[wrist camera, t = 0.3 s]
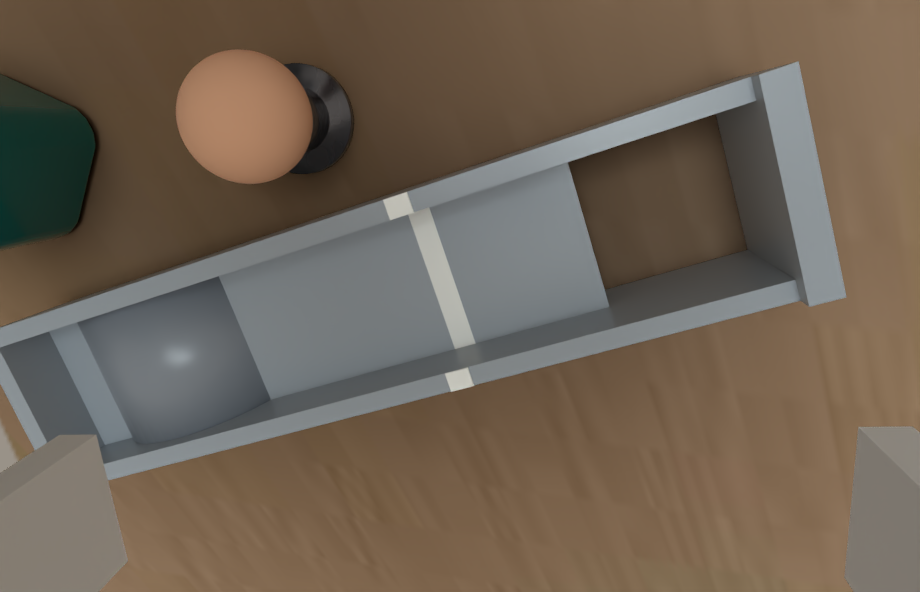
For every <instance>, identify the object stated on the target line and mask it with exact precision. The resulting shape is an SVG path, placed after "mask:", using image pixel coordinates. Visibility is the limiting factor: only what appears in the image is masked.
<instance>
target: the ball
mask: <svg viewBox="0 0 920 592" xmlns="http://www.w3.org/2000/svg"><path fill="white" fill-rule="evenodd" d="M176 119H177V125H178V129H179V132H180V135H181V138H182V140H183V142H184V144H185V146H186V147H187V149H188V151H189V152H190V153H191V154H192V156H193V157H194V158H195V159H196V160H197V161H198V162H199V163H200V164H201V165H202V166H203V167H204V168H206V169H207V170H208V171H210V172H212V173H213V174H215V175H217V176H218V177H221V178H223V179H225V180H229V181H232V182H236V183H242V184H258V183H265V182H268V181H272V180H274V179H277V178H279V177H281V176H283V175H284V174H286V173H288V172H289V171H290V170H291V169H292V168H294V167H295V166H296V165H297V164H298V162H299V161H300V160H301V159H302V157H303V156H304V154H305V152H306V150H307V148H308V145H309V142H310V139H311V135H312V128H313V116H312V110H311V105H310V102H309V99H308V97H307V94H306V92H305V90H304V88H303V86H302V85H301V83H300V82H299V80H298V79H297V78H296V76H295V75H294V74H293V73H292V72H291V71H290V70H289V69H288V68H286V67H285V66H284V65H283V64H281V63H280V62H278V61H277V60H275V59H274V58H271V57H269V56H267V55H265V54H262V53H259V52H256V51H250V50H242V49H233V50H227V51H221V52H218V53H215V54H213V55H211V56H209V57H207V58H205V59H203V60H202V61H201V62H199V63H198V64H197V65H195V66H194V67H193V68H192V69H191V71H190V72H189V73H188V75H187V76H186V77H185V79H184V81H183V83H182V85H181V87H180V90H179V93H178V97H177V102H176Z"/></svg>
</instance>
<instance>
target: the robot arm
mask: <svg viewBox="0 0 920 592" xmlns="http://www.w3.org/2000/svg"><path fill="white" fill-rule="evenodd" d="M127 561H128V559H127V555H126V551H125V547H124V543H123V539H122V535H121V531H120V527H119V523H118V519H117V515H116V511H115V507H114V503H113V499H112V495H111V491H110V487H109V483H108V479H107V475H106V471H105V468H104V464H103V460H102V456H101V452H100V448H99V444H98V440H97V436H96V435H58V436H57V437H55V438H54V439H52V440H51V441H49V442H48V443H46V444H44V445H43V446H41V447H40V448H38V449H37V450H35V451H34V452H32V453H30V454H29V455H27V456H26V457H24V458H23V459H21V460H20V461H18V462H16V463H15V464H14V465H12V466H10V467H9V468H7V469H6V470H4V471H3V472H1V473H0V592H99V591H100V590H101V589H102V588H103V587H104V586H105V585H106V584H107V582H108V581H109V580H110V579H111V578H112V577H113V576H114V575H115V574H116V573H117V572H118V571H119V570H120V569H121V568H122V567H123V566H124V565H125V564H126V563H127ZM844 578H845V579H846V581H847V582H848V584H849V585H850V587H851V588H852V590H853V591H854V592H920V432H918V431H917V430H916V429H915V428H914V427H858V437H857V448H856V458H855V469H854V480H853V491H852V502H851V512H850V523H849V534H848V545H847V556H846V566H845V577H844Z"/></svg>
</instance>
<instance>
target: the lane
mask: <svg viewBox="0 0 920 592" xmlns="http://www.w3.org/2000/svg"><path fill="white" fill-rule="evenodd" d="M714 114H716V118H717V122H718V126H719V131H720V135H721V139H722V143H723V148H724V152H725V156H726V160H727V165H728V169H729V173H730V177H731V182H732V186H733V190H734V194H735V199H736V203H737V207H738V212H739V216H740V220H741V224H742V229H743V233H744V237H745V241H746V246H747V250H745V251H741V252H738V253H734V254H731V255H727V256H724V257H720V258H716V259H713V260H709V261H706V262H702V263H699V264H695V265H691V266H688V267H684V268H681V269H677V270H674V271H670V272H666V273H663V274H659V275H656V276H652V277H649V278H645V279H641V280H638V281H634V282H631V283H627V284H624V285H620V286H616V287H613V288H609V289H606V290H605V289H604V286H603V282H602V279H601V276H600V272H599V269H598V265H597V262H596V258H595V255H594V251H593V248H592V244H591V241H590V237H589V234H588V231H587V227H586V224H585V220H584V217H583V213H582V210H581V206H580V203H579V199H578V196H577V192H576V189H575V186H574V182H573V179H572V175H571V172H570V168H569V165H568V162H570V161H573V160H576V159H579V158H582V157H585V156H588V155H591V154H594V153H597V152H600V151H603V150H607V149H610V148H613V147H616V146H619V145H622V144H625V143H628V142H631V141H634V140H637V139H640V138H643V137H646V136H649V135H652V134H656V133H659V132H662V131H665V130H668V129H671V128H674V127H677V126H680V125H683V124H686V123H689V122H692V121H695V120H698V119H701V118H705V117H708V116H711V115H714ZM845 297H846V293H845V288H844V283H843V278H842V273H841V268H840V263H839V258H838V253H837V248H836V243H835V239H834V234H833V229H832V224H831V219H830V214H829V209H828V204H827V199H826V194H825V189H824V184H823V180H822V175H821V170H820V165H819V160H818V155H817V150H816V145H815V140H814V135H813V130H812V125H811V120H810V116H809V111H808V106H807V101H806V96H805V91H804V86H803V81H802V76H801V71H800V66H799V61H798V62H794V63H791V64H787V65H783V66H779V67H775V68H771V69H767V70H763V71H759V72H755V73H752V74H748V75H744V76H740V77H737V78H734V79H731V80H728V81H725V82H722V83H719V84H716V85H713V86H710V87H707V88H704V89H701V90H698V91H695V92H692V93H689V94H686V95H683V96H680V97H677V98H674V99H671V100H668V101H665V102H662V103H659V104H656V105H653V106H650V107H647V108H644V109H641V110H638V111H635V112H632V113H629V114H627V115H624V116H621V117H618V118H615V119H612V120H609V121H606V122H603V123H600V124H597V125H594V126H591V127H588V128H585V129H582V130H579V131H576V132H573V133H570V134H567V135H564V136H561V137H558V138H555V139H552V140H549V141H546V142H543V143H540V144H537V145H534V146H531V147H528V148H525V149H522V150H519V151H516V152H513V153H510V154H507V155H504V156H501V157H498V158H495V159H493V160H490V161H487V162H484V163H481V164H478V165H475V166H472V167H469V168H466V169H463V170H460V171H457V172H454V173H451V174H448V175H445V176H442V177H439V178H436V179H433V180H430V181H427V182H424V183H421V184H418V185H415V186H412V187H409V188H406V189H403V190H400V191H397V192H394V193H391V194H388V195H385V196H382V197H379V198H376V199H373V200H370V201H367V202H364V203H361V204H359V205H356V206H353V207H350V208H347V209H344V210H341V211H338V212H335V213H332V214H329V215H326V216H323V217H320V218H317V219H314V220H311V221H308V222H305V223H302V224H299V225H296V226H293V227H290V228H287V229H284V230H281V231H278V232H275V233H272V234H269V235H266V236H263V237H260V238H257V239H254V240H251V241H248V242H245V243H242V244H239V245H236V246H233V247H230V248H227V249H225V250H222V251H219V252H216V253H213V254H210V255H207V256H204V257H201V258H198V259H195V260H192V261H189V262H186V263H183V264H180V265H177V266H174V267H171V268H168V269H165V270H162V271H159V272H156V273H153V274H150V275H147V276H144V277H141V278H138V279H135V280H132V281H129V282H126V283H123V284H120V285H117V286H114V287H111V288H108V289H105V290H102V291H99V292H96V293H93V294H91V295H88V296H85V297H82V298H79V299H76V300H73V301H70V302H67V303H64V304H61V305H59V306H56V307H53V308H51V309H48V310H45V311H42V312H40V313H37V314H34V315H31V316H29V317H26V318H23V319H21V320H18V321H15V322H12V323H10V324H7V325H4V326H2V327H0V384H1V386H2V388H3V390H4V392H5V394H6V396H7V397H8V399H9V401H10V403H11V405H12V407H13V409H14V411H15V413H16V415H17V417H18V419H19V421H20V422H21V424H22V426H23V428H24V430H25V432H26V434H27V436H28V438H29V440H30V442H31V444H32V445H33V447H34V449H35V450H37V449H38V448H40V447H41V446H43V445H44V444H46V443H48V442H49V441H51V440H52V439H54V438H55V437H57V436H58V435H96V436H97V440H98V444H99V448H100V452H101V456H102V460H103V464H104V468H105V471H106V475H107V479H108V480H111V479H115V478H119V477H123V476H127V475H130V474H134V473H138V472H142V471H146V470H150V469H154V468H157V467H161V466H165V465H169V464H173V463H177V462H181V461H184V460H188V459H192V458H196V457H200V456H204V455H207V454H211V453H215V452H219V451H223V450H227V449H231V448H234V447H238V446H242V445H246V444H250V443H254V442H258V441H261V440H265V439H269V438H273V437H277V436H281V435H285V434H288V433H292V432H296V431H300V430H304V429H308V428H311V427H315V426H319V425H323V424H327V423H331V422H335V421H338V420H342V419H346V418H350V417H354V416H358V415H362V414H365V413H369V412H373V411H377V410H381V409H385V408H389V407H392V406H396V405H400V404H404V403H408V402H412V401H415V400H419V399H423V398H427V397H431V396H435V395H439V394H442V393H446V392H450V391H451V392H453V391H457V390H461V389H465V388H468V387H472V386H474V385H477V384H481V383H485V382H489V381H492V380H496V379H500V378H504V377H508V376H512V375H516V374H519V373H523V372H527V371H531V370H535V369H539V368H543V367H546V366H550V365H554V364H558V363H562V362H566V361H570V360H573V359H577V358H581V357H585V356H589V355H593V354H596V353H600V352H604V351H608V350H612V349H616V348H620V347H623V346H627V345H631V344H635V343H639V342H643V341H647V340H650V339H654V338H658V337H662V336H666V335H670V334H674V333H677V332H681V331H685V330H689V329H693V328H697V327H700V326H704V325H708V324H712V323H716V322H720V321H724V320H727V319H731V318H735V317H739V316H743V315H747V314H751V313H754V312H758V311H762V310H766V309H770V308H774V307H778V306H781V305H785V304H789V303H793V302H797V301H802V302H803V303H805V304H806V305H807V306H809V307H810V306H814V305H818V304H822V303H826V302H830V301H834V300H838V299H841V298H845Z"/></svg>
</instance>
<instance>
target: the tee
mask: <svg viewBox="0 0 920 592" xmlns="http://www.w3.org/2000/svg"><path fill="white" fill-rule="evenodd" d="M284 66H285V67H286V68H288V69H289V70H290V71H291V72H292V73H293V74H294V75H295V76H296V78H297V79H298V80H299V82H300V83H301V85H302V86H303V88H304V90H305V92H306V94H307V97H308V99H309V102H310V105H311V110H312V116H313V128H312V135H311V139H310V142H309V145H308V148H307V150H306V152H305V154H304V156H303V157H302V159H301V160H300V161H299V162H298V164H297V165H296V166H295V167H294V168H292V169H291V170H290V171H289V172H291V173H297V174H309V173H315V172H319V171H322V170H325V169H327V168H329V167H330V166H332V165H333V164H335V163H336V162H337V161H338V160H339V159H340V158H341V157H342V156H343V154H344V153H345V151H346V150H347V148H348V146H349V144H350V141H351V138H352V134H353V126H354V118H353V111H352V107H351V103H350V101H349V98H348V96H347V94H346V92H345V91H344V89H343V88H342V86H341V85H340V84H339V82H338V81H337V80H336V79H335V78H334V77H332V76H331V75H330V74H329V73H327V72H325V71H324V70H322V69H319V68H317V67H314V66H311V65H307V64H300V63H291V64H285V65H284Z"/></svg>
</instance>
